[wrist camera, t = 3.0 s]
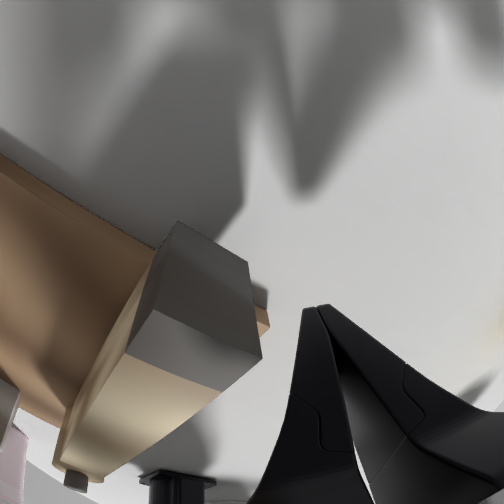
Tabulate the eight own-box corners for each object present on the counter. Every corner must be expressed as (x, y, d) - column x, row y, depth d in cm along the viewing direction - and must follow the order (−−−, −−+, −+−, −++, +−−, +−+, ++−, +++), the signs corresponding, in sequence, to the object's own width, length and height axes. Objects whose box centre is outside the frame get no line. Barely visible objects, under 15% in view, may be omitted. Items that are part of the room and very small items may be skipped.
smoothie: (-18, 414, 18) (-45, 513, 6) (3, 414, 18) (-25, 531, 6) (22, 445, 22) (4, 538, 10) (49, 447, 21) (32, 555, 9)
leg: (105, 435, 16) (97, 485, 12) (62, 417, 15) (50, 467, 11) (255, 266, 10) (273, 362, 6) (169, 215, 9) (139, 301, 5)
